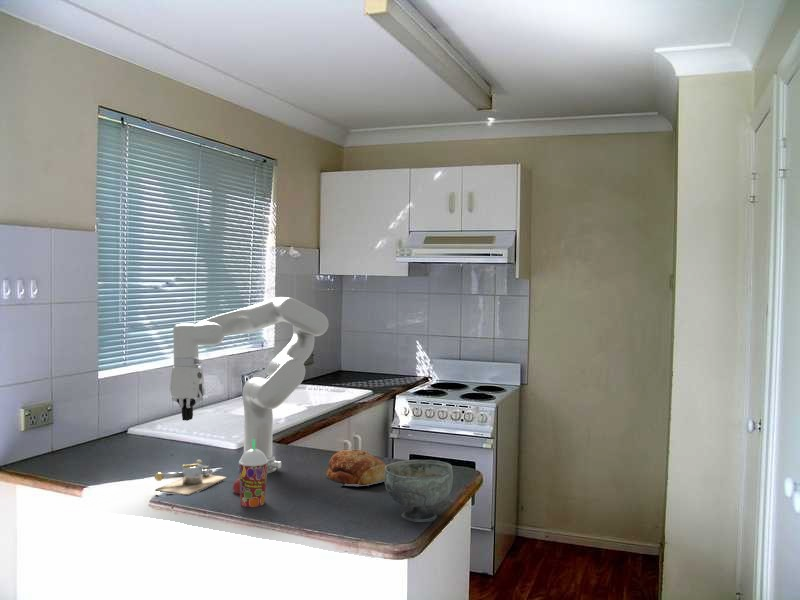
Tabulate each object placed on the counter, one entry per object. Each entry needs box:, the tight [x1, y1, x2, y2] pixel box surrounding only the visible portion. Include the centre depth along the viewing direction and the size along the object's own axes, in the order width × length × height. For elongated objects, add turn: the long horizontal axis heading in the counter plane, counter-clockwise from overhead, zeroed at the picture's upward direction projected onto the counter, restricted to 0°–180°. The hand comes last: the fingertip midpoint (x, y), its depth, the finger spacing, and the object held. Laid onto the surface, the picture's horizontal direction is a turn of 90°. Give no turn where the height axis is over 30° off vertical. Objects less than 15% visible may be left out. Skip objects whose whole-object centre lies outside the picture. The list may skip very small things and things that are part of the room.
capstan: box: [154, 463, 214, 485], centre depth 213 cm, size 18×6×6 cm, turn 114°
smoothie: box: [238, 439, 268, 508], centre depth 197 cm, size 8×8×20 cm
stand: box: [154, 459, 228, 496], centre depth 214 cm, size 12×20×7 cm, turn 160°
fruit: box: [232, 477, 240, 495], centre depth 207 cm, size 6×6×8 cm
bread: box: [326, 449, 388, 485], centre depth 227 cm, size 20×18×10 cm
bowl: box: [383, 459, 454, 523], centre depth 191 cm, size 20×19×15 cm
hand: (187, 419), depth 217 cm, fingers closed
